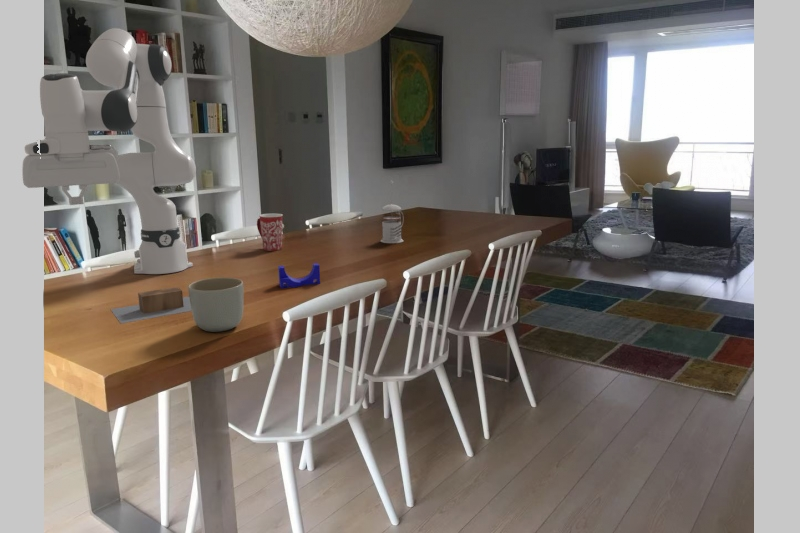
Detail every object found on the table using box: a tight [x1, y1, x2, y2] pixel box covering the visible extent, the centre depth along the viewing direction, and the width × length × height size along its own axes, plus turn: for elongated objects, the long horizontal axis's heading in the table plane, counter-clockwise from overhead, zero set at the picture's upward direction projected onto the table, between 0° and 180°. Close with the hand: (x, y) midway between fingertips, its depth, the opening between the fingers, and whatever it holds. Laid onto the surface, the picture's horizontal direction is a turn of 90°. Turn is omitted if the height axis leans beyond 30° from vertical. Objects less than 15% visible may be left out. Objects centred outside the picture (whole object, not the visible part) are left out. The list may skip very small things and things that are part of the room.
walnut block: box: [137, 286, 184, 314], centre depth 154 cm, size 4×4×10 cm
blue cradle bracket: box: [277, 262, 321, 289], centre depth 178 cm, size 12×4×6 cm, turn 107°
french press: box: [380, 180, 405, 244], centre depth 243 cm, size 10×12×25 cm
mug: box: [256, 212, 284, 252], centre depth 230 cm, size 13×9×14 cm
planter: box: [187, 276, 244, 333], centre depth 140 cm, size 12×12×11 cm
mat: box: [110, 295, 192, 324], centre depth 155 cm, size 14×22×1 cm, turn 125°
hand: (76, 204), depth 141 cm, fingers closed
